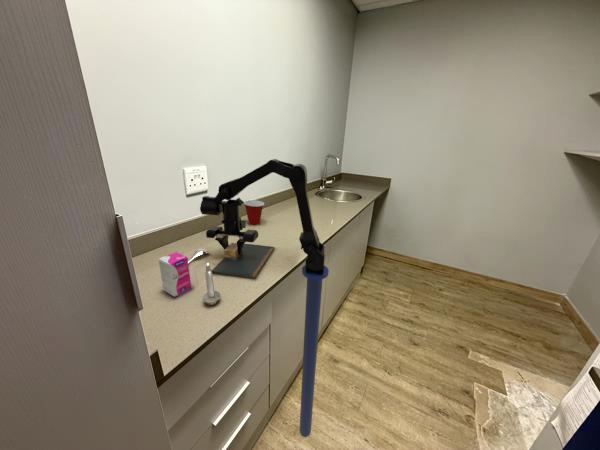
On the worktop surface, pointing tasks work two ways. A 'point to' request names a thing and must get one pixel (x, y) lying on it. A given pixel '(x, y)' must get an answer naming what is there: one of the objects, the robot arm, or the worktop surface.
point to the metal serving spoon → (198, 253)
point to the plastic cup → (254, 211)
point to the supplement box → (175, 274)
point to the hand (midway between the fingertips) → (233, 254)
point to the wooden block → (232, 252)
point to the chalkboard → (245, 262)
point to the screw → (210, 288)
